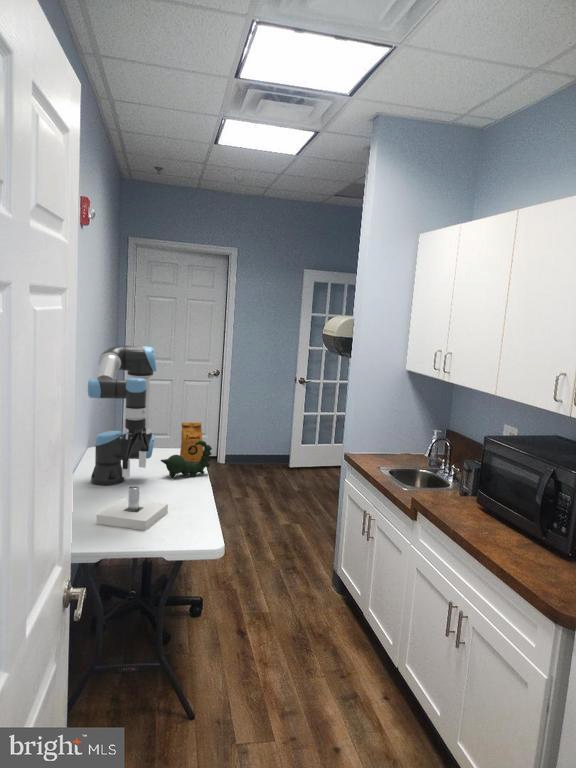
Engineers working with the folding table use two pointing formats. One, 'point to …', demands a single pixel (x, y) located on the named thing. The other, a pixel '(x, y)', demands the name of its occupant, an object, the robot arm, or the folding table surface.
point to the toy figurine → (188, 463)
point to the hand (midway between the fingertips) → (134, 471)
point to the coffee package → (191, 442)
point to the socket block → (132, 514)
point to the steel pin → (133, 499)
